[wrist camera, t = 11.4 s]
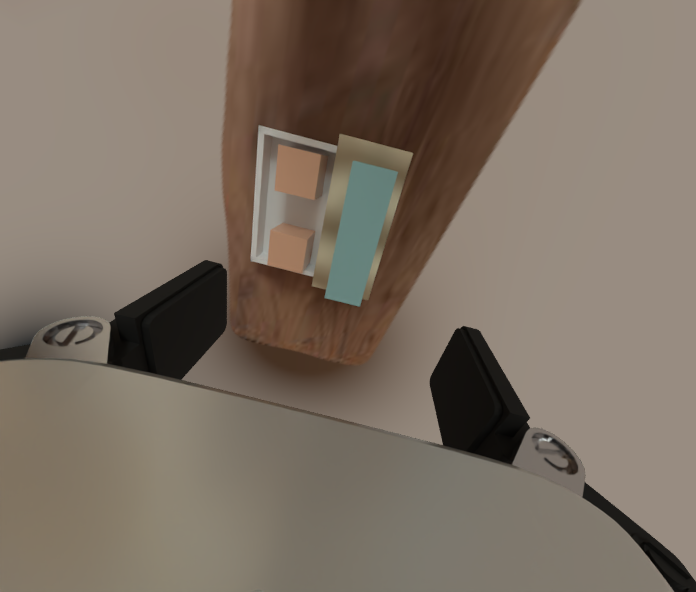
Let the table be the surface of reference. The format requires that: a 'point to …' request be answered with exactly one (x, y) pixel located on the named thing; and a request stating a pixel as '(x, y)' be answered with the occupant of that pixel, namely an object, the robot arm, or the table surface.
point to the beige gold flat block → (345, 155)
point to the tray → (283, 206)
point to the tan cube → (300, 172)
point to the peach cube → (290, 247)
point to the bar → (359, 231)
